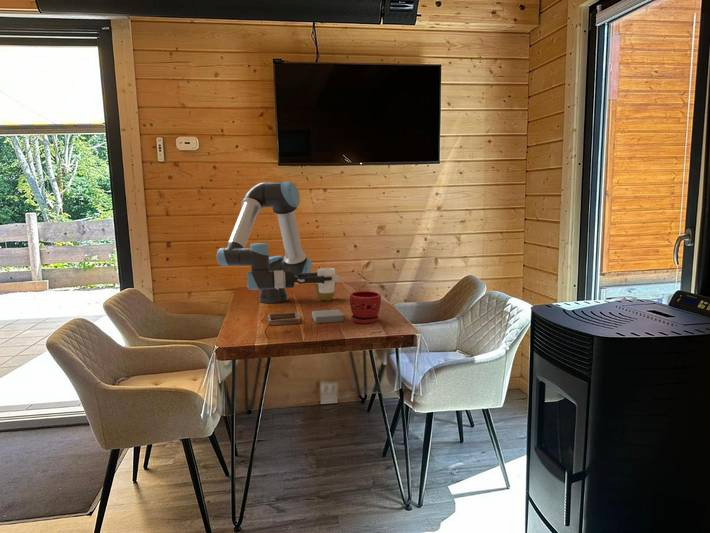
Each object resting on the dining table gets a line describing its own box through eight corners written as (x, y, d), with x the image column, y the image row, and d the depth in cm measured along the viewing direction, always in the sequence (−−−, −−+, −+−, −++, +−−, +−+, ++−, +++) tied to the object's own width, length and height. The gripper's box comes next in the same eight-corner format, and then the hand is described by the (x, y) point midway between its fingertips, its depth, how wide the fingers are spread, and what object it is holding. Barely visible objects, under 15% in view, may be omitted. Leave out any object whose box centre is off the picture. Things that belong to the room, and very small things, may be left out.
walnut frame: (267, 318, 213) (267, 314, 213) (297, 316, 216) (296, 312, 215) (268, 325, 200) (268, 321, 200) (300, 323, 203) (299, 318, 203)
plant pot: (348, 324, 199) (347, 296, 197) (352, 317, 212) (352, 290, 210) (379, 325, 197) (379, 296, 196) (382, 317, 210) (381, 290, 209)
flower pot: (315, 301, 249) (315, 284, 248) (320, 297, 257) (320, 281, 256) (331, 301, 247) (331, 284, 246) (336, 298, 255) (336, 281, 254)
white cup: (338, 290, 211) (337, 268, 210) (332, 293, 204) (331, 270, 202) (321, 290, 213) (320, 267, 212) (314, 293, 206) (314, 270, 205)
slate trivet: (312, 316, 215) (312, 311, 214) (338, 314, 217) (338, 309, 217) (315, 323, 203) (315, 317, 203) (343, 321, 206) (343, 315, 205)
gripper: (283, 284, 214) (333, 281, 219) (286, 292, 194) (342, 288, 199) (282, 267, 213) (333, 265, 218) (285, 273, 194) (341, 270, 198)
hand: (337, 276), depth 209 cm, fingers closed on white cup, 7 cm apart
